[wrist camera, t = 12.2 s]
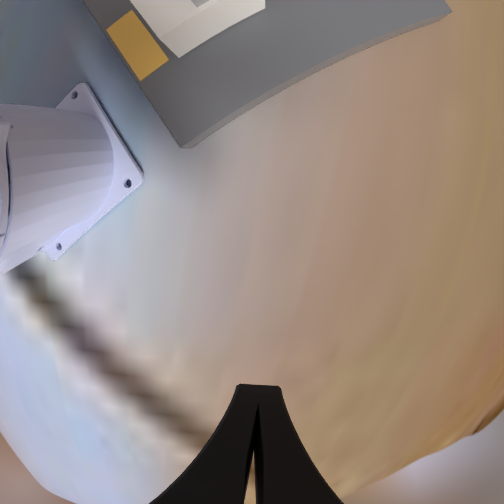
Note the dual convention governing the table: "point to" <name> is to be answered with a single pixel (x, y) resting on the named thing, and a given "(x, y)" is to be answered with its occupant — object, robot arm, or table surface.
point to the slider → (193, 19)
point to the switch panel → (250, 54)
